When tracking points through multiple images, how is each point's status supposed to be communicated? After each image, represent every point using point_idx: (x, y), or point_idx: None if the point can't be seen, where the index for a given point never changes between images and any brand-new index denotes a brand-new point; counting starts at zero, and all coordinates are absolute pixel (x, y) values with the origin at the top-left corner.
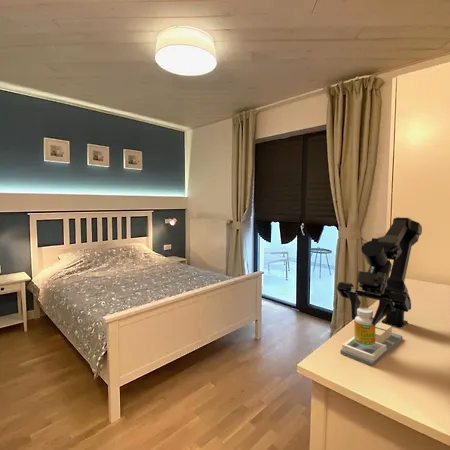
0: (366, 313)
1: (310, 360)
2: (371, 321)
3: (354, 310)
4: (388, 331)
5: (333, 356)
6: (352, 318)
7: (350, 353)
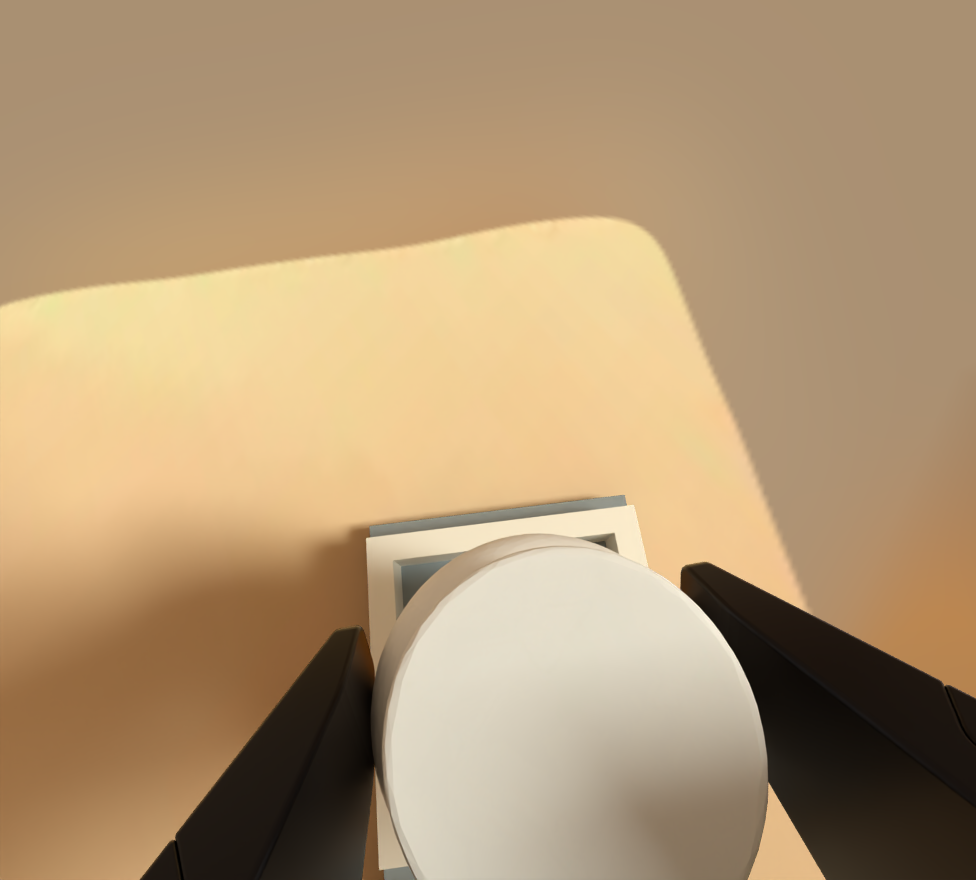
0: (450, 594)
1: (659, 283)
2: (389, 654)
3: (775, 643)
4: None
5: (617, 428)
6: (692, 571)
7: (546, 511)
